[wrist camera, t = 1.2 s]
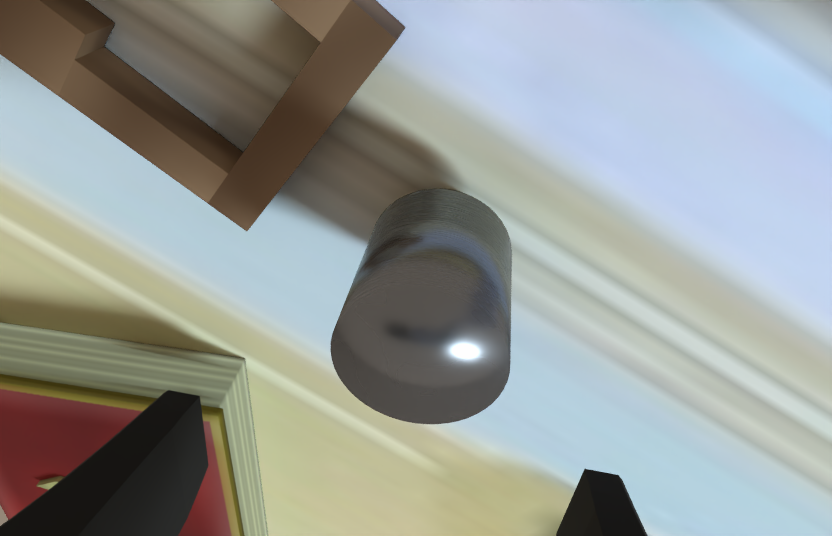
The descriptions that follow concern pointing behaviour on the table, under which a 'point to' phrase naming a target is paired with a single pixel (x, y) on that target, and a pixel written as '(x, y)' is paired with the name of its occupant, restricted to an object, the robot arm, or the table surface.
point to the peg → (429, 311)
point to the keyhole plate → (177, 127)
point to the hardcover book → (122, 418)
